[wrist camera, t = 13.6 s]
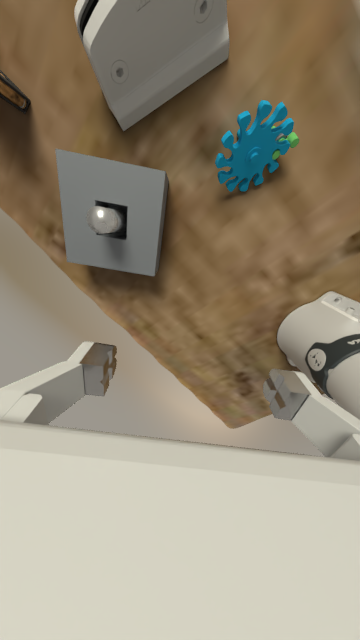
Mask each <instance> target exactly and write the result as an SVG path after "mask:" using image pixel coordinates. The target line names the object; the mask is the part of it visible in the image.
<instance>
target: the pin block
mask: <svg viewBox="0 0 360 640" xmlns="http://www.w3.org/2000/svg"><path fill="white" fill-rule="evenodd" d="M55 150H56V159H57V169H58V178H59V188H60V197H61V207H62V217H63V226H64V236H65V245H66V255H67V262H72V263H78V264H84V265H90V266H96V267H102V268H107V269H113V270H119V271H125V272H131V273H137V274H143V275H149V276H155V274H156V272H157V271H158V269H159V260H160V252H161V243H162V234H163V226H164V217H165V208H166V200H167V191H168V182H169V180H168V177H167V174H166V171H161V170H156V169H151V168H146V167H141V166H137V165H132V164H127V163H122V162H117V161H113V160H108V159H103V158H98V157H93V156H88V155H84V154H79V153H74V152H69V151H64V150H59V149H55ZM94 206H100V207H105V208H110V209H115V210H120V211H124V212H126V213H127V230H126V231H119V232H112V233H105V234H99V233H96V232H94V231H93V230H92V229H91V228H90V227H89V225H88V223H87V218H86V216H87V212H88V210H89V209H90V208H91V207H94Z"/></svg>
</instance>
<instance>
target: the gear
mask: <svg viewBox="0 0 360 640" xmlns="http://www.w3.org/2000/svg"><path fill="white" fill-rule="evenodd" d="M271 109H272V106H271V104H270V103H269V102H268V101H265V100H261V102H260V103H259V105H258V110H257V115H256V118H255V121H254V123H253V124H252V126H251V128H250V129H249V130H248V131H246V128H247V127H248V125H249V123H250V121H251V116H250V114H249V112H248V111H245V112H243V113H241V114H240V115H238V118H237V122H238V124H239V126H240V129H239V130H238V132H237V136H238V138H239V140H238V141H237V143H235V144H233V141H234V137H233V135H232V133H231V132H230V131H228V132H227V133H226V134H225V135H224V136H223V138H222V139H221V141H222V143H223V145H224V147H225V148H228V149H230V150H231V151H232V155H231V157H230V158H229V159H225V157H224V155H223V154H222V153H219V154H218V156H217V158H216V161H215V164H216V166H217V168H222V167H225V166H229V167H231V169H230V171H228V172H225V171H220V172H218V179H219V182H220V184H222V183H224V182H225V181H226V180H227V179H229V178H231V177H234V176H236V178H235V179H232V180H229V181H228V182H227V183H226V186H227V188H228V190H229V191H230V192H232V191H233V190H234V189H235V187H236V185H237V184H238V183H239V182H240V181H241V180H243V179H244V178H245V180H243V181H242V182H241V183H240V184H239V186H238V187H239V190H240V191H247V189H248V185H249V182H250V180H251V179H252V177H253V176H254V175H255V174H256V176H255V177H254V179H253V182H254V184H255V186H256V185H259V184H261V183H263V180H264V179H263V177H262V172H263V169H264V167H265V165H266V164H268V166H267V168H268V170H269V172H270V173H272V172H273V171H275V170H276V169H277V168H278V167H279V164H278V163H277V161H276V160H275V159H277V158H278V157H279V155H280V154H281V155H284V154H285V153H286V152H287V150H288V149H289V147H291V148H294V147H295V146H296V145H297V144H298V143H299V139H298V137H297V136H296V134H295V133H294V132H292V129H293V125H294V122H293V120H292V119H291V118H288V119H287V120H285V121H284V122H283V123H282V124H281V125H280V126H278V127H275V126H273V124H274V123H275V122H278V121H282V120H283V119H284V118H285V117H286V116H287V109H286V107H285V106H284V104H283V103H282V102H281V103H279V104H278V105H277V107H276V109H275V111H274V112H273V114H272V115H271V117H270V118H269V119H268V120H267V121H266V122H264V123H263V124H262V125H260V123H261V122H262V120H263V119H264V118H266V117H267V116H268V115H269V113H270V112H271ZM291 132H292V133H291ZM290 133H291V134H290ZM287 135H289V136H288V137H287Z"/></svg>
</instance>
